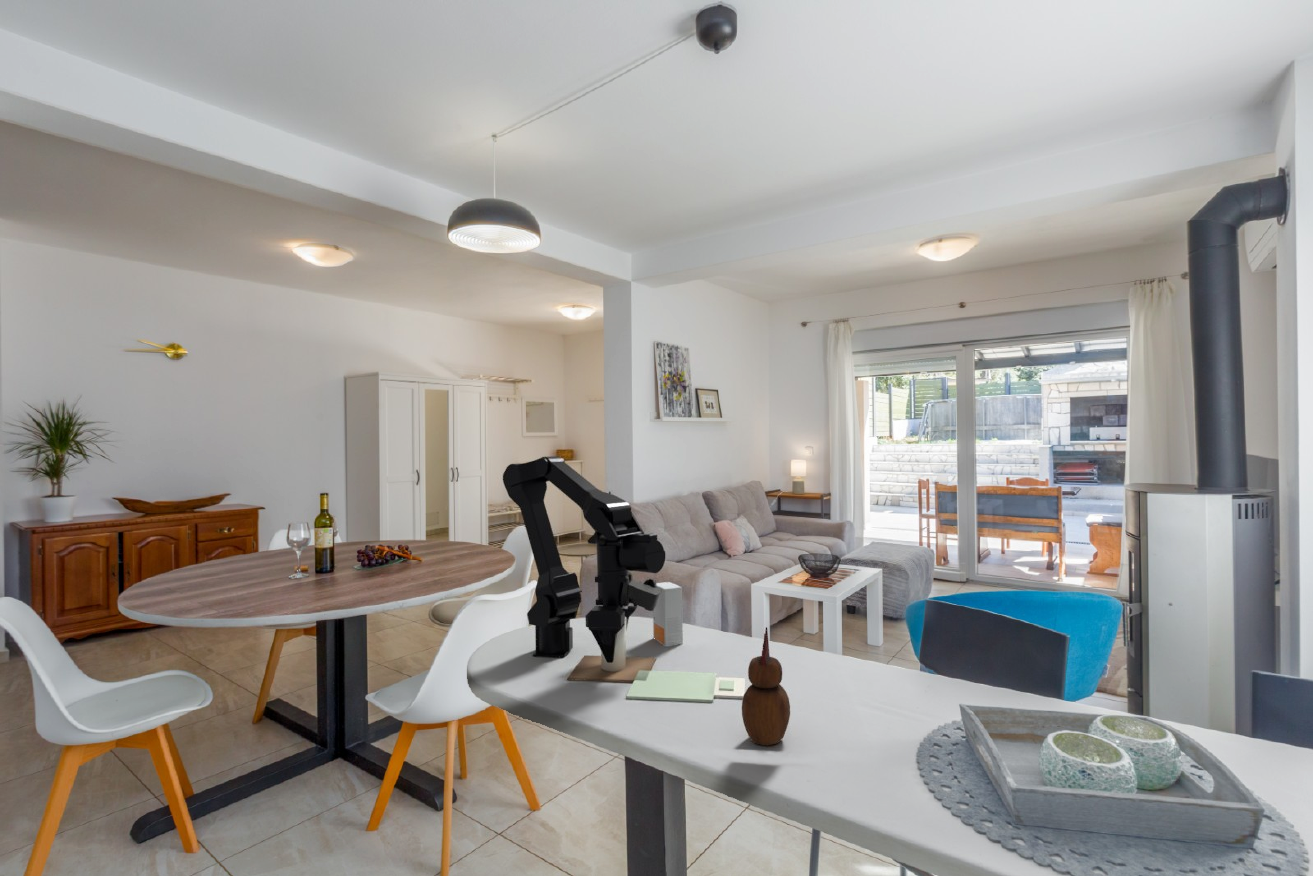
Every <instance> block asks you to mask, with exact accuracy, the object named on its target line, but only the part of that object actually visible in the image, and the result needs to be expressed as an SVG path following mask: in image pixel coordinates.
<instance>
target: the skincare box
mask: <svg viewBox="0 0 1313 876" xmlns="http://www.w3.org/2000/svg"><path fill="white" fill-rule="evenodd" d="M656 586H657V588H659V590H660V595H659V598H658V601H657V604H656V607H655V608H654V610H653V611H652V618H653V619H652V623H653V625H652V627H653V628H652V629H653V633H652V634H653V638H655V639H656V640H657V642H658V641H659V642H660V643H659V642H658V643H659V644H660V645H662V644H663V645H664V646H663V645H662V646H663V647H665V646H667V647H673V645H674V646H678V644H680V645H683V644H684V638H683V635H684V634H683V632H684V630H683V627H684V626H683V586H679V585H678V584H676V583H673V582H671V581H665V582H656ZM655 639H654V640H655ZM656 640H655V641H656Z"/></svg>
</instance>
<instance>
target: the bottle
mask: <svg viewBox="0 0 1313 876" xmlns="http://www.w3.org/2000/svg"><path fill="white" fill-rule="evenodd" d="M624 624H625V625H624V626H623V628H622V629H621V630H620V631H619V632H618V633H617V638H616V646H615V654H614V661H613V662H612V663H608V662H607V661H606V659H605V657H604V655H603V653H602V651H601V650H600V651H601V652H600V653H601V654H600V656H601V668H602V669H603V670H605V671H611V672H615V671H621V670H623V669H625V667H626V657H627V656H626V655H627V631H626V617H625V620H624Z"/></svg>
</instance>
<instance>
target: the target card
mask: <svg viewBox="0 0 1313 876" xmlns="http://www.w3.org/2000/svg"><path fill="white" fill-rule="evenodd" d="M714 678H715V677H714ZM711 679H712V677H711ZM711 681H712V680H711ZM711 683H712V682H711ZM712 684H713V683H712ZM711 687H712V686H711ZM709 691H710V690H709ZM711 691H712V690H711ZM713 692H714V693H713V694H714V698H716V699H717V698H719V699H721V698H722V699H737V700H738V699H740V700H741V699H742V700H743V697H744V694H745V692H746V678H744V677H720V676H719V677H718V676H717V677H716V682H715V689H714V690H713ZM709 695H710V694H709Z"/></svg>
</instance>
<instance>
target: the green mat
mask: <svg viewBox="0 0 1313 876" xmlns="http://www.w3.org/2000/svg"><path fill="white" fill-rule="evenodd" d="M643 672H645V670H643V671H642V674H641V672H640V670H639V672H638V674H637V675H638V677H636V678H639V677H640V678H642V677H643V675H644V673H643ZM648 672H649V673H648ZM640 674H641V675H642V677H641V676H640ZM717 675H718V674H717V672H697V671H695V672H693V671H668V670H666V671H665V670H651V671H647V670H646V675H644V676H646V681H645V679H644V678H642V679H643V680H644V681H643V680H641V681H640V680H639V679H637V680H636V679H635V680H634V682H633V683H632V684H631V686H630V688H629V691H628V693H627V694H626V699H630V700H631V699H633V700H649V701H651V700H652V701H670V702H671V701H673V702H674V701H675V702H695V703H696V702H697V703H714V694H713V693H714V692H713V690H714V689H715V682H716V677H718V676H717ZM647 676H648V677H647ZM711 677H712V679H711ZM714 677H715V678H714ZM711 680H712V681H711ZM711 682H712V683H713V684H712V683H711ZM711 686H712V687H711ZM709 690H710V691H709ZM711 690H712V691H711ZM709 694H710V695H709Z"/></svg>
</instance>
